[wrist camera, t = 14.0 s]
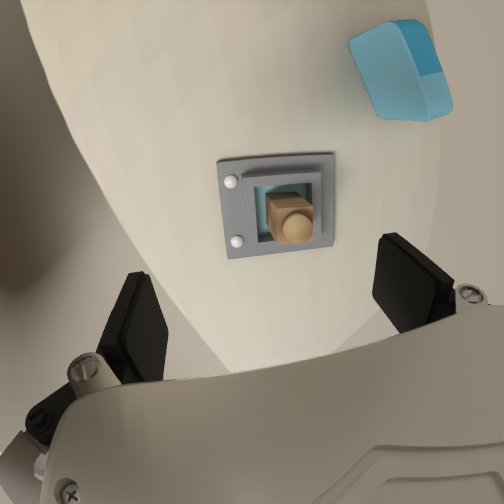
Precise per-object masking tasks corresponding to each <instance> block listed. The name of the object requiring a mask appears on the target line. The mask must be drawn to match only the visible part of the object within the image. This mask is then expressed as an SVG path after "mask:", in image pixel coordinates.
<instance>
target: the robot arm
mask: <svg viewBox="0 0 504 504" xmlns="http://www.w3.org/2000/svg"><path fill="white" fill-rule="evenodd" d="M453 284H454V279H452V278H451V277H450V276H449V275H448V274H447V273H446V272H444V271H443V270H442V269H441V268H439V266H437V265H436V264H435V263H434V262H433V261H431V260H430V259H429V258H428V257H427V256H425V255H424V254H423V253H422V252H420V251H419V250H418V249H417V248H415V247H414V246H413V245H412V244H410V243H409V242H408V241H407V240H405V239H404V238H403V237H401V236H400V235H399V234H397V233H396V232H394V233H388V234H383V235H382V238H380V239H379V243H378V252H377V260H376V268H375V276H374V283H373V289H372V295H373V298H374V300H375V301H376V302H377V304H378V305H379V306H380V308H381V309H382V310H383V311H384V313H385V314H386V315H387V317H388V318H389V319H390V321H391V322H392V324H393V325H394V326H395V328H396V329H397V330H398V332H399V333H400V334H398V335H395V336H392V337H389V338H385V339H382V340H378V341H376V342H372V343H368V344H365V345H361V346H357V347H354V348H350V349H346V350H343V351H339V352H335V353H331V354H327V355H322V356H318V357H314V358H309V359H305V360H300V361H295V362H291V363H286V364H280V365H275V366H270V367H264V368H259V369H253V370H247V371H240V372H234V373H227V374H220V375H211V376H203V377H194V378H184V379H171V380H163V373H164V365H165V356H166V349H167V342H168V328H167V325H166V322H165V319H164V317H163V314H162V311H161V308H160V305H159V302H158V300H157V297H156V294H155V291H154V288H153V285H152V282H151V279H150V276H149V275H148V274H145V273H144V272H143V271H141V272H134V273H129V274H128V276H127V278H126V280H125V283H124V285H123V287H122V289H121V292H120V294H119V296H118V299H117V301H116V303H115V306H114V308H113V310H112V312H111V314H110V316H109V319H108V321H107V324H106V326H105V329H104V331H103V334H102V337H101V339H100V342H99V345H98V347H97V350H96V353H94V352H89V353H84V354H82V355H80V356H78V357H77V358H75V359H74V360H73V361H72V362H71V364H70V365H69V367H68V370H67V377H68V380H69V382H68V383H67V384H65V385H64V386H62V387H61V388H60V389H58V390H57V391H55V392H54V393H53V394H51V395H50V396H48V397H47V398H45V399H44V400H42V401H41V402H40V403H38V404H37V405H35V406H34V407H33V408H32V409H31V410H30V411H29V413H28V414H27V417H26V422H25V426H26V431H25V432H23V431H22V430H21V431H20V432H19V433H18V434H17V435H16V437H15V438H14V439H13V441H12V442H11V443H10V444H9V445H8V446H7V448H6V449H5V450H4V452H3V453H2V454H1V455H0V485H1V486H2V488H3V489H4V491H5V492H6V494H7V495H8V496H9V498H10V499H11V500H12V502H13V503H14V504H504V306H503V305H491V304H488V301H487V297H486V295H485V293H484V292H483V291H482V290H481V289H480V288H478V287H476V286H475V285H471V284H460V285H458V286H457V288H456V289H455V290H454V289H453V288H452V287H453Z"/></svg>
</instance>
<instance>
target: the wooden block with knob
mask: <svg viewBox="0 0 504 504" xmlns="http://www.w3.org/2000/svg"><path fill="white" fill-rule="evenodd" d="M265 206H266V224H267V226H268V228H269V230H270V232H271V234H272V236H273V238H274V240H275V242H276V244H287V243H293V244H301V243H304V242H309V241H312V237H313V206H312V205H311V204H310V203H309V202H308V201H307V200H305V199H304V198H303V197H302V196H301V195H300V194H298V193H297V192H296V191H294V192H277V193H265Z"/></svg>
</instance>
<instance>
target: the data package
mask: <svg viewBox="0 0 504 504" xmlns="http://www.w3.org/2000/svg"><path fill="white" fill-rule="evenodd" d="M349 49H350V52H351V54H352V56H353V58H354V61H355V63H356V65H357V67H358V70H359V72H360V74H361V77H362V79H363V81H364V84H365V86H366V89H367V91H368V94H369V96H370V99H371V102H372V104H373V107H374V110H375V111H376V113H377V115H378V116H379V117H381V118H382V119H395V120H411V121H423V122H426V121H429V120H432V119H435V118H438V117H441V116H444V115H446V114H449V113H450V112H451V111H452V109H453V102H452V98H451V95H450V92H449V88H448V85H447V82H446V79H445V76H444V73H443V70H442V67H441V65H440V62H439V60H438V57H437V54H436V52H435V49H434V47H433V44H432V42H431V40H430V37H429V35H428V33H427V31H426V29H425V27H424V26H423V24H422V23H420V22H419V21H417V20H414V19H412V20H397V21H387V22H384V23H382V24H380V25H378V26H376V27H374V28H372V29H370V30H368V31H366V32H364V33H362V34H360V35H358V36H356V37H354V38H352V39H351V40H350V41H349Z"/></svg>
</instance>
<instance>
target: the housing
mask: <svg viewBox="0 0 504 504" xmlns="http://www.w3.org/2000/svg"><path fill="white" fill-rule="evenodd" d="M216 164H217V173H218V182H219V191H220V200H221V209H222V217H223V225H224V234H225V242H226V250H227V257H228V259H235V258H243V257H251V256H259V255H267V254H275V253H283V252H291V251H299V250H307V249H315V248H323V247H331V246H333V231H334V155H333V154H314V155H292V156H276V157H263V158H251V159H240V160H231V161H222V162H216ZM294 191H296V192H297V193H298V194H300V195H301V196H302V197H303V198H304V199H305V200H307V201H308V202H309V203H310V204H311V205H312V206H313V237H312V241H309V242H304V243H301V244H293V243H287V244H276V242H275V240H274V238H273V236H272V234H271V232H270V230H269V228H268V226H267V224H266V206H265V193H277V192H294Z"/></svg>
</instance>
